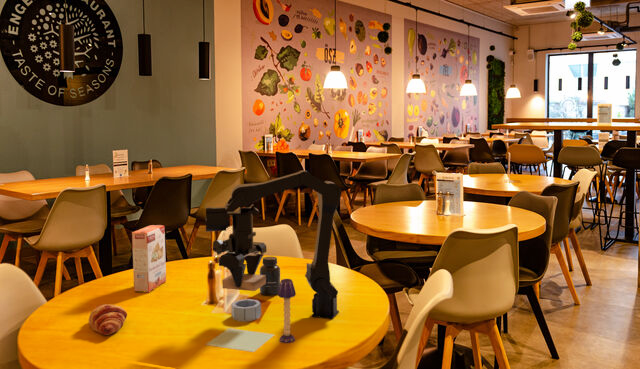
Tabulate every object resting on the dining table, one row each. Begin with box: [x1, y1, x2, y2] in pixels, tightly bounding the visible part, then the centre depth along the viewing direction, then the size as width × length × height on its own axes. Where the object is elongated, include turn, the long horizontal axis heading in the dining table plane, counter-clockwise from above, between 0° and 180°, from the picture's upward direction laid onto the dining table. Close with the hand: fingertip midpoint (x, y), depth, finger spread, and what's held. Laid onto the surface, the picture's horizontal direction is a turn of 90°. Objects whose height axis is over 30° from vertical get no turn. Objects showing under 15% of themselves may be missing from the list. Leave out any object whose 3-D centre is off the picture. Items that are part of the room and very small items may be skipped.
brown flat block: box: [221, 273, 266, 292], centre depth 161 cm, size 10×7×2 cm
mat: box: [204, 327, 276, 353], centre depth 148 cm, size 14×12×1 cm
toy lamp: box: [277, 278, 297, 344], centre depth 146 cm, size 5×5×17 cm
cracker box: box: [131, 224, 167, 293], centre depth 196 cm, size 14×6×21 cm, turn 171°
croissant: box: [88, 303, 128, 336], centre depth 160 cm, size 21×10×8 cm, turn 24°
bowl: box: [230, 298, 262, 322], centre depth 165 cm, size 8×8×4 cm
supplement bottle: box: [259, 256, 281, 297], centre depth 188 cm, size 7×7×12 cm
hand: (244, 283), depth 161 cm, fingers closed on brown flat block, 7 cm apart
